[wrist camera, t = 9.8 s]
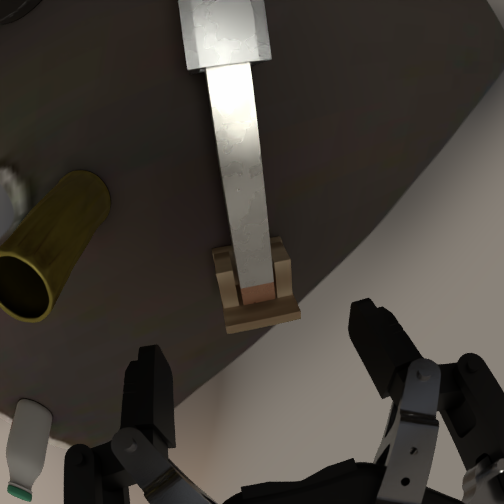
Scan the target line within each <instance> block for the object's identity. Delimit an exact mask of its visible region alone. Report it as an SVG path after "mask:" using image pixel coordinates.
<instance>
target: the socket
mask: <svg viewBox="0 0 504 504" xmlns="http://www.w3.org/2000/svg"><path fill="white" fill-rule="evenodd" d="M270 247H271V257H272V268H273V279H274V290H275V299H272V300H267V301H263V302H258V303H253V304H248V305H244V304H243V300H242V296H241V291H240V287H239V283H238V278H237V272H236V267H235V261H234V255H233V249H232V245H229V246H224V247H219V248H213V249H212V254H213V259H214V263H215V269H216V276H217V280H218V285H219V289H220V293H221V299H222V306H223V312H224V319H225V325H226V330H227V334H231V333H236V332H241V331H246V330H251V329H256V328H261V327H266V326H270V325H275V324H279V323H284V322H289V321H293V320H297V319H301V311H300V309H299V307H298V304H297V302H296V300H295V297H294V295H293V293H292V278H291V259H290V257H289V255H288V254H287V252H286V250H285V248H284V246H283V244H282V240H281V238H280V236H278V237H272V238H270Z"/></svg>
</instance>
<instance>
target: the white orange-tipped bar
mask: <svg viewBox="0 0 504 504" xmlns="http://www.w3.org/2000/svg"><path fill="white" fill-rule="evenodd" d="M204 72H205V79H206V86H207V93H208V100H209V106H210V113H211V120H212V126H213V133H214V139H215V146H216V152H217V158H218V165H219V171H220V177H221V183H222V189H223V196H224V202H225V208H226V214H227V220H228V226H229V232H230V238H231V243H232V249H233V255H234V261H235V267H236V272H237V278H238V283H239V287H240V291H241V296H242V300H243V304H244V305H248V304H253V303H258V302H263V301H267V300H272V299H275V290H274V279H273V268H272V257H271V247H270V237H269V227H268V217H267V207H266V198H265V188H264V179H263V169H262V160H261V151H260V142H259V134H258V125H257V116H256V108H255V100H254V91H253V83H252V75H251V67H250V62H246V63H237V64H228V65H221V66H214V67H207V68H204Z"/></svg>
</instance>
